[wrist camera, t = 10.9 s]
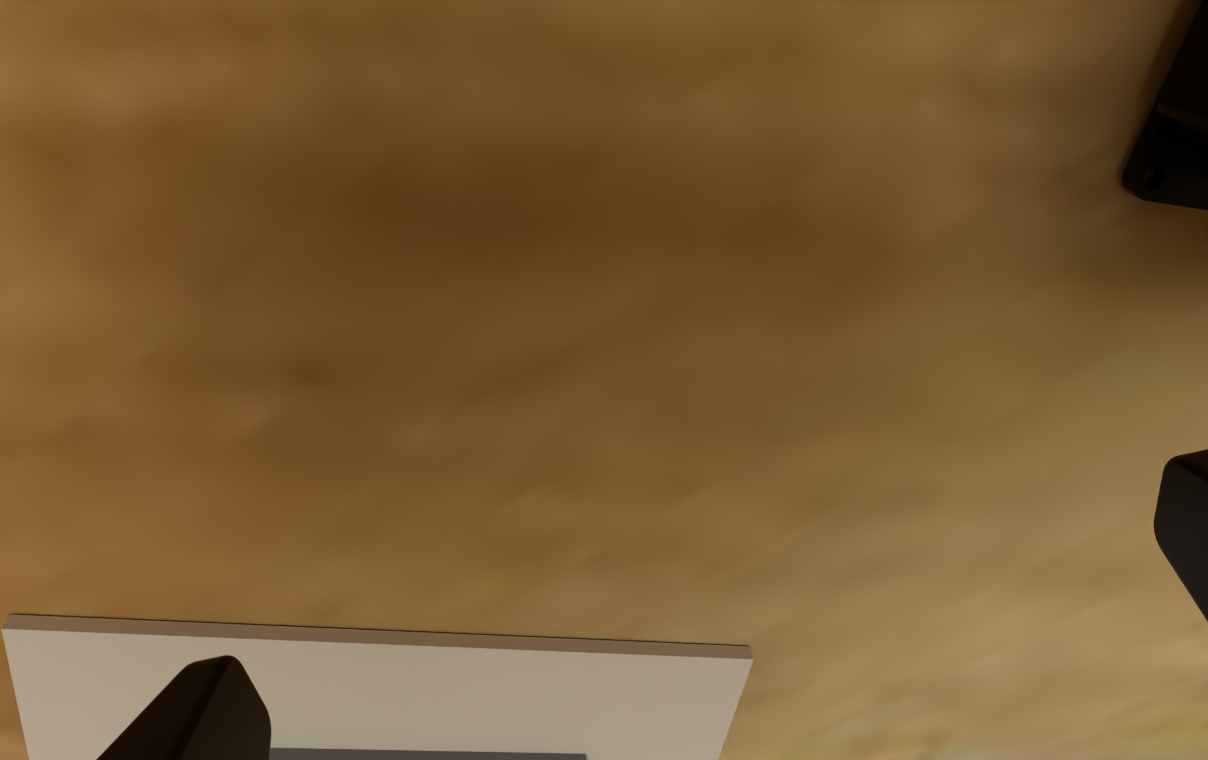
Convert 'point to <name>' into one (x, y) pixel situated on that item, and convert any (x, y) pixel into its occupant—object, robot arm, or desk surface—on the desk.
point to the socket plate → (385, 690)
